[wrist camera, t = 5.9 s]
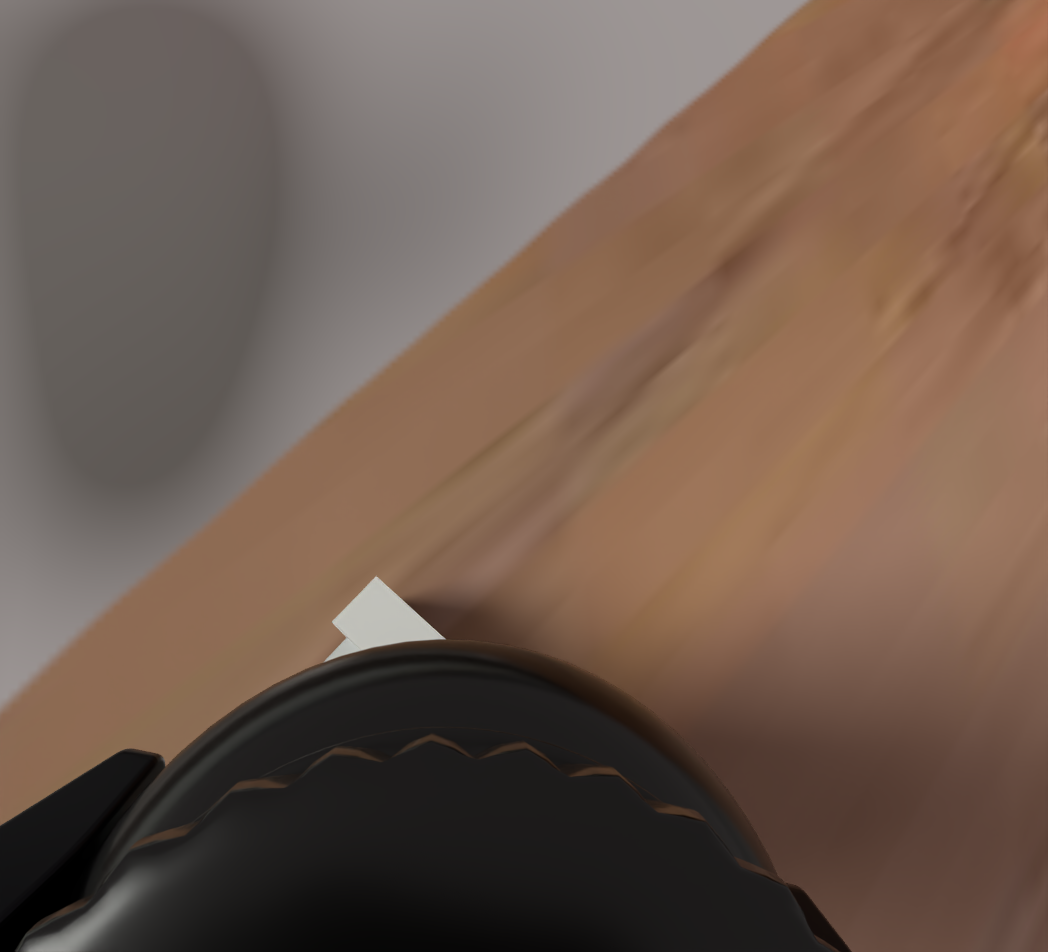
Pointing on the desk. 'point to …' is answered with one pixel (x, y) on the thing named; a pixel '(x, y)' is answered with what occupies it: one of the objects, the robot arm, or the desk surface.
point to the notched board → (379, 621)
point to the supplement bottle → (433, 824)
